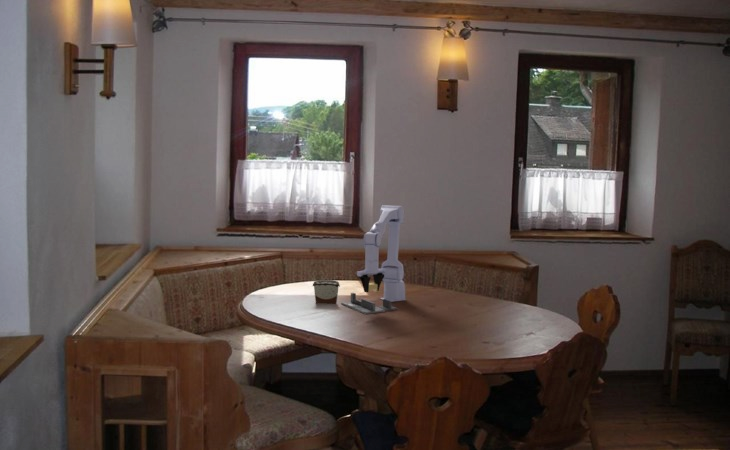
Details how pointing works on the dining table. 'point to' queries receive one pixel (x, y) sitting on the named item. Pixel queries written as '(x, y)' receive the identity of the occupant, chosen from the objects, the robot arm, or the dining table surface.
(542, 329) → the dining table surface
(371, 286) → the clip
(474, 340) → the dining table surface
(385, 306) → the grey finned base plate
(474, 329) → the dining table surface
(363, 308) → the rail
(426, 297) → the dining table surface
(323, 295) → the food container
